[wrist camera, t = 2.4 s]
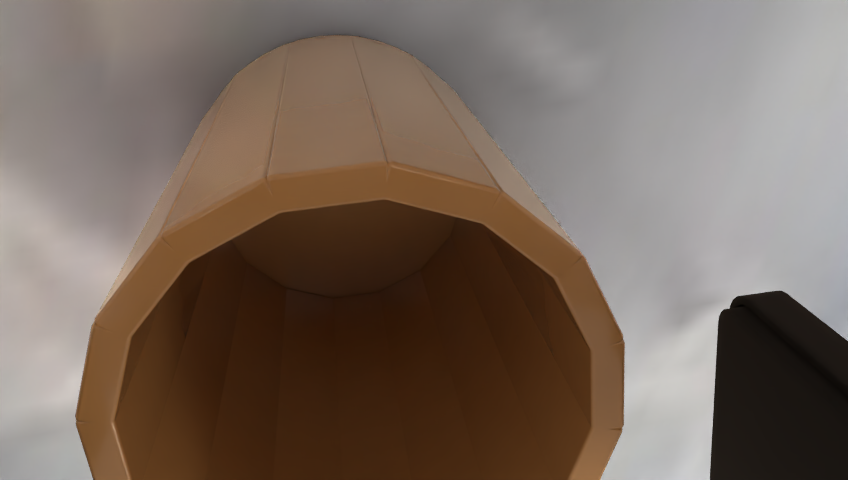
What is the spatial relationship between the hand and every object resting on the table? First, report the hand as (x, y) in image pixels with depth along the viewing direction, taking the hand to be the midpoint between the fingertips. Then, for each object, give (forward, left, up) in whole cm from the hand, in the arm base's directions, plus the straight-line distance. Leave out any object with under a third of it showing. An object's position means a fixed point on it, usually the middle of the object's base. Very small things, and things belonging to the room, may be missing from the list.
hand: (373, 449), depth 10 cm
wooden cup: (0, 0, -10) cm, 10 cm away
